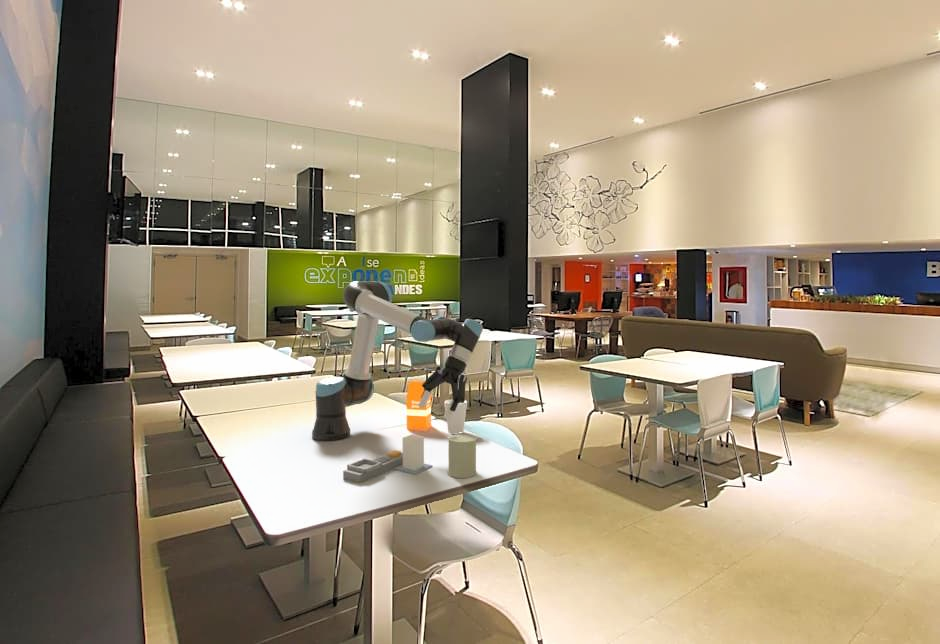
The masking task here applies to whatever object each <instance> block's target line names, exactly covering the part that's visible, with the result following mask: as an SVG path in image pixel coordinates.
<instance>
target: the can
mask: <svg viewBox="0 0 940 644" xmlns="http://www.w3.org/2000/svg"><path fill="white" fill-rule="evenodd" d="M447 439H448V441H447V442H448V471H447V475H448V476H450V477H453V478H456V479H468V478H472V477H474V476H476V474H477V437H476V436H475V435H472V434H471V435H470V434H463V433H461V434H452V435H450V436H449V437H447Z"/></svg>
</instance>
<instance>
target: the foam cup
mask: <svg viewBox="0 0 940 644" xmlns="http://www.w3.org/2000/svg"><path fill="white" fill-rule="evenodd" d="M451 400H452V401H453V398H452V399H446V400H444V409H445V412H446V410H447V408H448V406H449V403H450V401H451ZM467 408H468V401H467V400H466V399H465V400H464V403H458V405H457V407H456V410H455V411H453V413H452V415H451V417H450V420H447V419H446V424H447V432H448V434H450V433H459V432H463V433H464V430H465V425H466V424H465V423H466V421H465V420H466V414H467Z"/></svg>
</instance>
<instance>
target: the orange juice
mask: <svg viewBox="0 0 940 644" xmlns="http://www.w3.org/2000/svg"><path fill="white" fill-rule="evenodd" d="M424 382H425V381H408V388H407V393H406V430H416V429H417V430H418V431H420V430H421V431H427V430H428V429H429V428H430V427H432V402H431V401H432V391H431V392H430V393H431V395H430V397H429V399H428V401H427V403H426V405H425V407H424V409H422V408H420V407H418V404H419V402H420V400H421V396H422V394H423V392H424V388H423V387H422V384H423V383H424ZM417 430H416V431H417Z"/></svg>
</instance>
